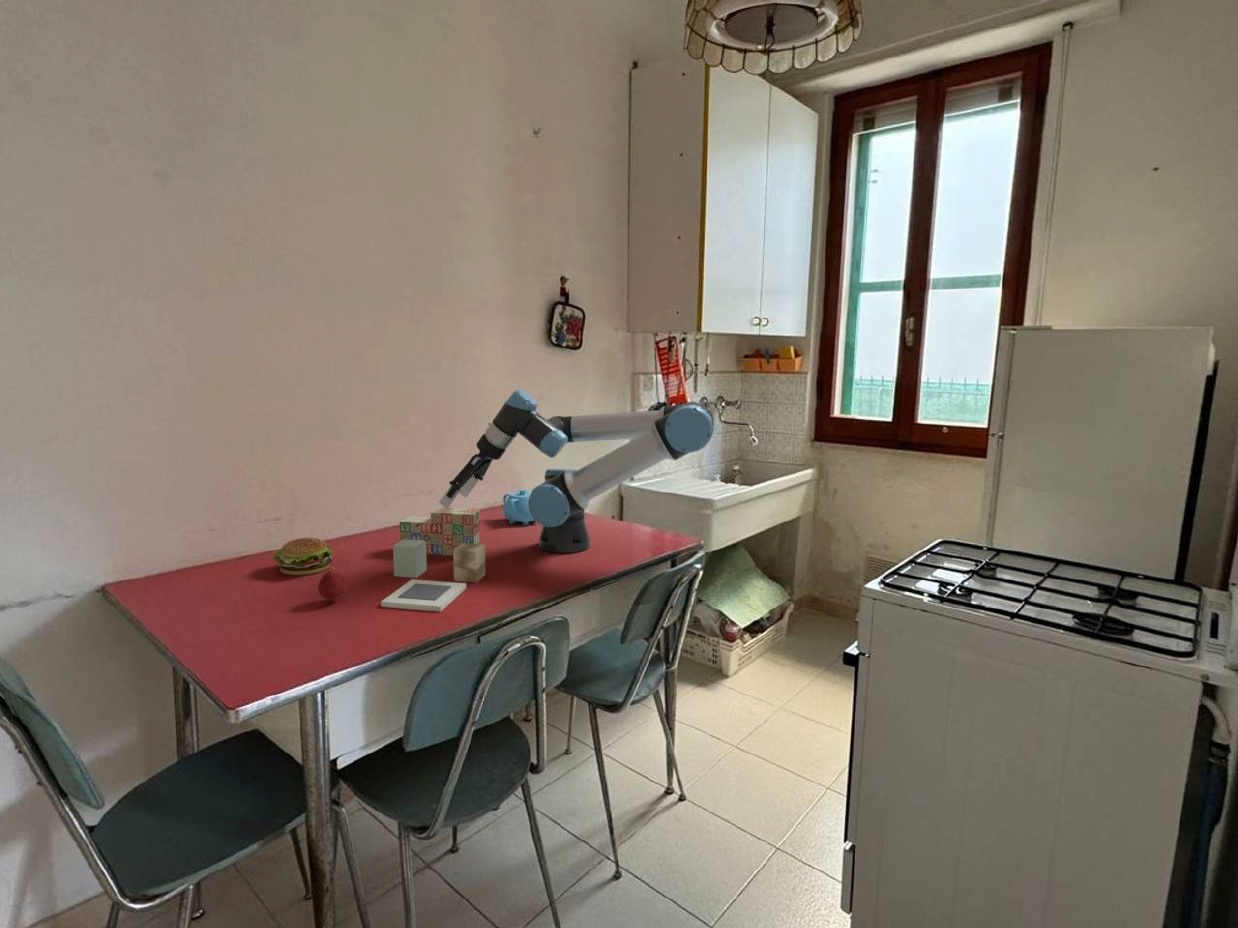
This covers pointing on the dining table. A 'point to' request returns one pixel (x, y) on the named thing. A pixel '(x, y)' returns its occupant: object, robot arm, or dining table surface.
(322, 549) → the food
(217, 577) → the dining table surface
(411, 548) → the sage block
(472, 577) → the beech block
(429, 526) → the stack of blocks
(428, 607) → the white square base plate
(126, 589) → the dining table surface
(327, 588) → the onion
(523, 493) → the teapot
